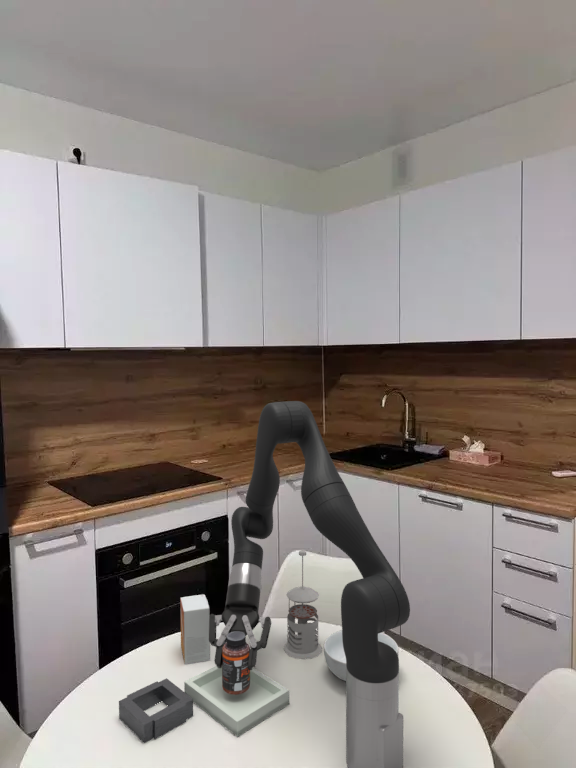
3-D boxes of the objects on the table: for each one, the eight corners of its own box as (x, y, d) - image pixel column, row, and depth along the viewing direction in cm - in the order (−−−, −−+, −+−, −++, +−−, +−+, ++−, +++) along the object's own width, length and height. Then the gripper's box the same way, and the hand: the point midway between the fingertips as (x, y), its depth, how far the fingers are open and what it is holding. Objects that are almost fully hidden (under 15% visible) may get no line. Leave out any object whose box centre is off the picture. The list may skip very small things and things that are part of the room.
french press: (292, 663, 126) (292, 559, 125) (274, 639, 137) (274, 544, 136) (329, 653, 130) (329, 553, 129) (308, 632, 141) (308, 539, 140)
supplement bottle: (245, 698, 109) (245, 644, 108) (218, 694, 110) (217, 641, 110) (253, 680, 115) (253, 629, 114) (227, 677, 116) (226, 627, 116)
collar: (194, 717, 107) (194, 700, 107) (145, 744, 99) (145, 726, 99) (165, 693, 115) (165, 677, 114) (117, 716, 107) (117, 699, 107)
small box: (180, 647, 133) (179, 596, 133) (205, 643, 135) (205, 593, 134) (183, 665, 125) (183, 611, 125) (210, 660, 127) (210, 607, 127)
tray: (289, 704, 111) (289, 690, 111) (237, 737, 101) (237, 721, 101) (235, 669, 124) (235, 656, 124) (184, 695, 114) (184, 681, 114)
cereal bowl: (374, 649, 132) (374, 621, 132) (413, 687, 117) (413, 655, 116) (312, 663, 126) (312, 634, 126) (344, 705, 110) (344, 672, 110)
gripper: (210, 580, 120) (197, 661, 108) (273, 582, 118) (266, 665, 107) (216, 593, 125) (204, 671, 114) (276, 595, 124) (270, 675, 113)
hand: (234, 667), depth 111 cm, fingers closed on supplement bottle, 6 cm apart
